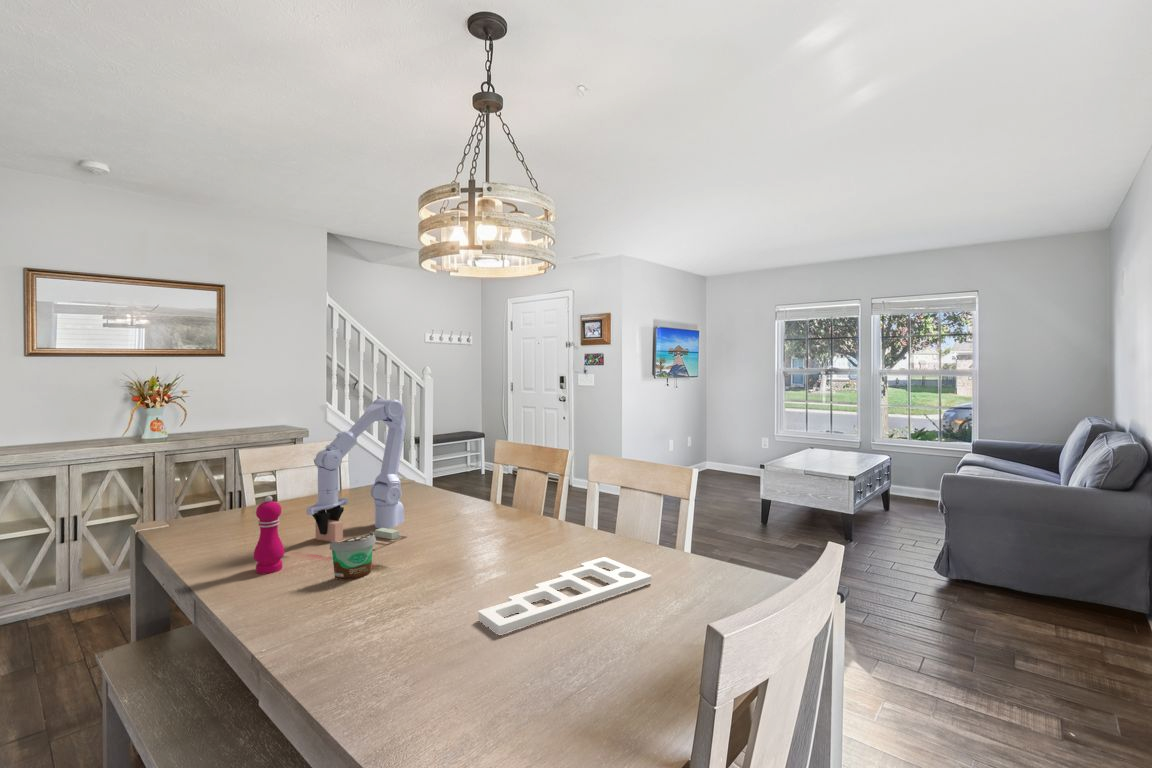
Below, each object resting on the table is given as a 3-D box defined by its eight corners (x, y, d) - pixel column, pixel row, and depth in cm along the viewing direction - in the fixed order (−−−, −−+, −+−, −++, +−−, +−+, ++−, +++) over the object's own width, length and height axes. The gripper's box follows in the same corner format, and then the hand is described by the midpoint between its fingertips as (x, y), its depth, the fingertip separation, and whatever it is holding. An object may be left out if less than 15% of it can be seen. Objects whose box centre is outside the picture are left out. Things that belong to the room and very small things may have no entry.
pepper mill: (271, 575, 146) (270, 499, 145) (247, 573, 147) (246, 498, 146) (290, 566, 153) (290, 493, 152) (267, 564, 154) (267, 492, 154)
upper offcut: (382, 533, 178) (382, 527, 178) (398, 536, 175) (398, 530, 175) (375, 536, 175) (375, 529, 175) (391, 539, 172) (391, 533, 172)
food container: (342, 585, 139) (342, 546, 139) (329, 579, 143) (329, 541, 143) (385, 571, 149) (385, 534, 149) (372, 566, 153) (372, 530, 152)
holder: (499, 639, 113) (499, 626, 113) (458, 609, 127) (458, 597, 127) (651, 586, 142) (652, 575, 142) (604, 566, 156) (604, 556, 156)
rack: (377, 536, 180) (377, 532, 179) (407, 541, 175) (407, 536, 175) (341, 550, 166) (341, 545, 166) (373, 556, 161) (373, 551, 161)
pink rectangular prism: (323, 541, 175) (323, 518, 175) (342, 544, 172) (342, 521, 172) (315, 543, 172) (315, 521, 172) (335, 547, 169) (335, 524, 169)
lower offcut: (378, 539, 178) (378, 533, 178) (401, 543, 175) (401, 536, 175) (372, 542, 175) (372, 536, 175) (395, 546, 172) (395, 539, 172)
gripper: (336, 483, 180) (336, 525, 180) (298, 492, 167) (298, 537, 167) (353, 485, 177) (353, 527, 178) (316, 494, 164) (316, 540, 164)
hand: (328, 532), depth 172 cm, fingers closed on pink rectangular prism, 3 cm apart
